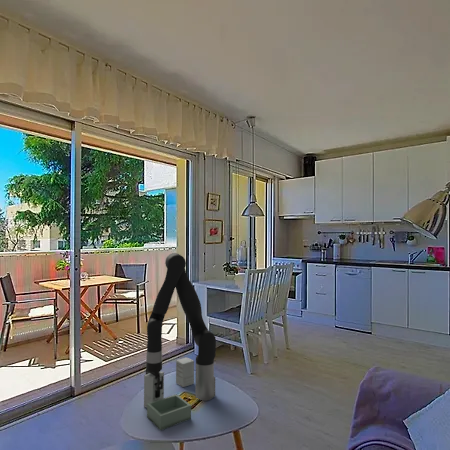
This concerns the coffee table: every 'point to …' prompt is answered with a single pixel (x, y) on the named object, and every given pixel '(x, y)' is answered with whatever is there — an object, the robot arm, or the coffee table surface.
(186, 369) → the supplement box
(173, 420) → the box
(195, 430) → the coffee table surface
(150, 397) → the skincare box
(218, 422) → the coffee table surface
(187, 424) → the coffee table surface
